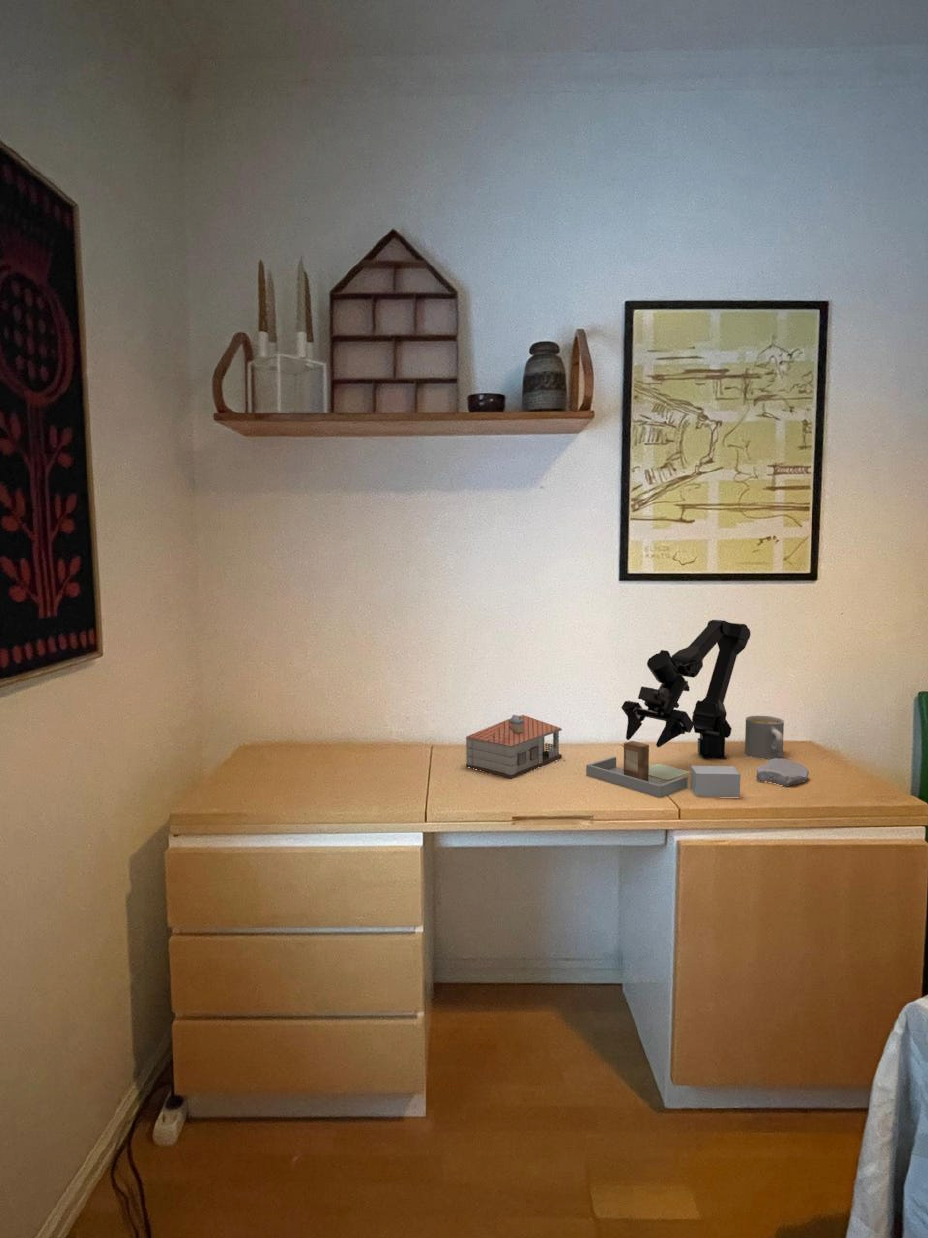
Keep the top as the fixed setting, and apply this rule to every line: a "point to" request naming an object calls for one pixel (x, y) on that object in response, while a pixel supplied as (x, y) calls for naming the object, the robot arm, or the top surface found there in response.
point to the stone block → (782, 772)
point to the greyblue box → (715, 781)
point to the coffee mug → (764, 737)
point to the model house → (512, 747)
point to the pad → (665, 772)
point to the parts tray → (634, 779)
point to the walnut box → (636, 760)
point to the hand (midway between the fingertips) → (641, 742)
